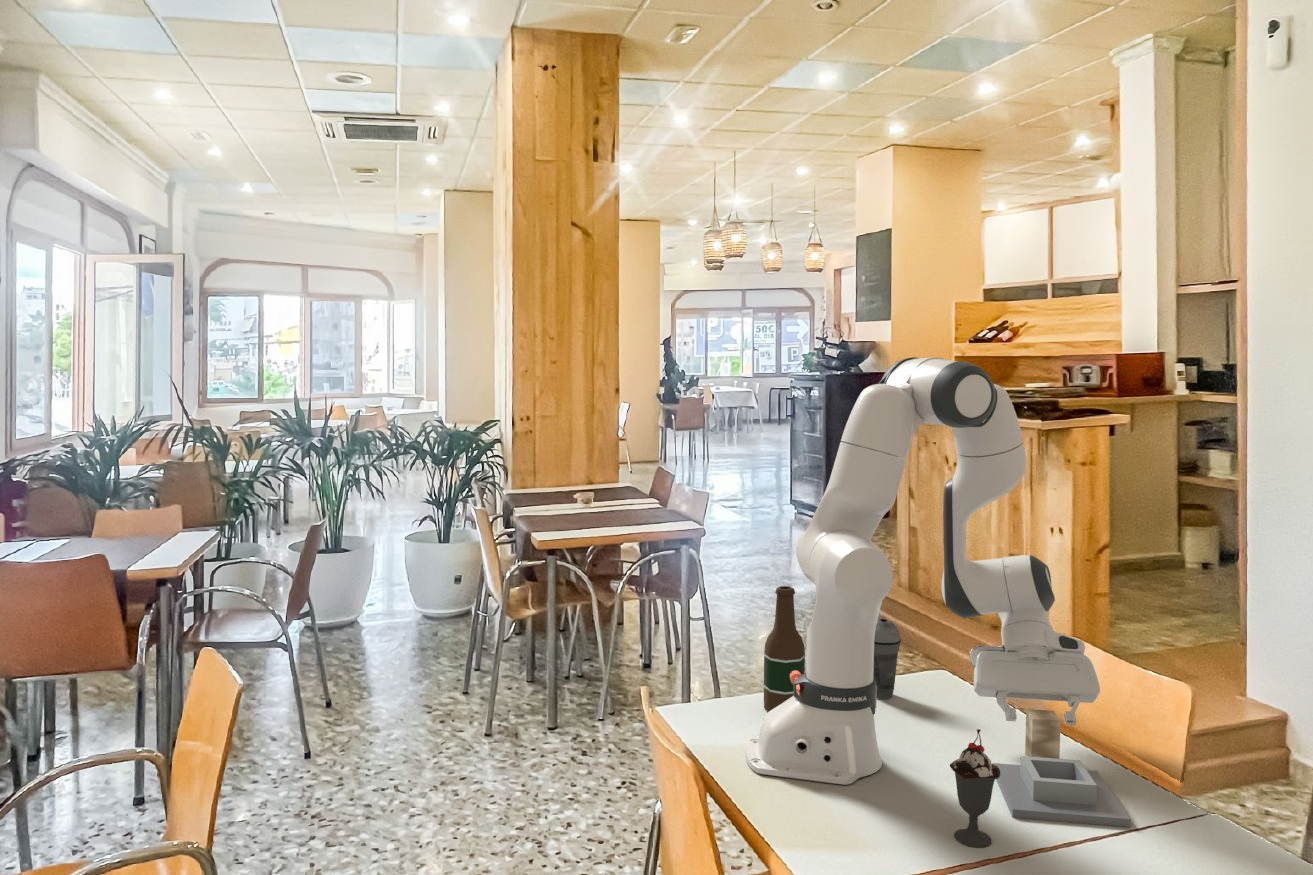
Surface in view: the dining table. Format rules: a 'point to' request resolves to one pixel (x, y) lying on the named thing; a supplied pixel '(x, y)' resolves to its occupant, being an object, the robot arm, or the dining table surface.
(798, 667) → the beer bottle
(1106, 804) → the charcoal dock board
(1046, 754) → the wooden block
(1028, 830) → the dining table surface
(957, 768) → the sundae
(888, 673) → the beverage cup
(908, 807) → the dining table surface
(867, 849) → the dining table surface
